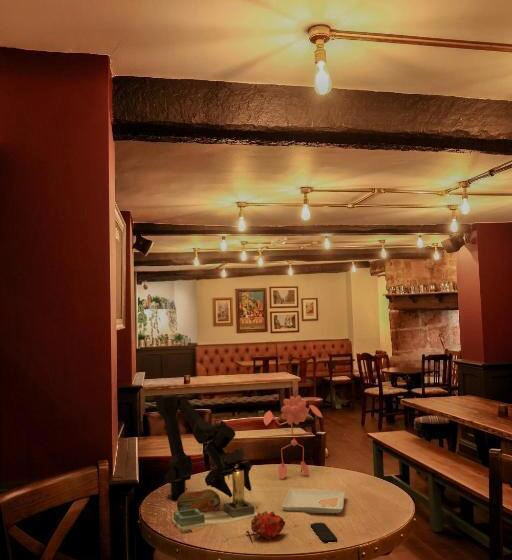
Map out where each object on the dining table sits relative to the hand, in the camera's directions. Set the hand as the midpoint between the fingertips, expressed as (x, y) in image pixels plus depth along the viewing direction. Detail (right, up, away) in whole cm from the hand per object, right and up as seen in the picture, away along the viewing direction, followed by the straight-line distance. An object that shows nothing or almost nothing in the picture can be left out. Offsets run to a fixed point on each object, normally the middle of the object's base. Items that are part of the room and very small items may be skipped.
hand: (241, 493), depth 197 cm
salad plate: (+26, -8, +9) cm, 29 cm away
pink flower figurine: (+22, -11, +45) cm, 52 cm away
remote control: (+26, -6, -19) cm, 33 cm away
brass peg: (-1, -7, 0) cm, 7 cm away
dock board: (-8, -8, -4) cm, 12 cm away
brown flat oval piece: (-15, -8, +2) cm, 17 cm away
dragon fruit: (+9, -6, -20) cm, 23 cm away
